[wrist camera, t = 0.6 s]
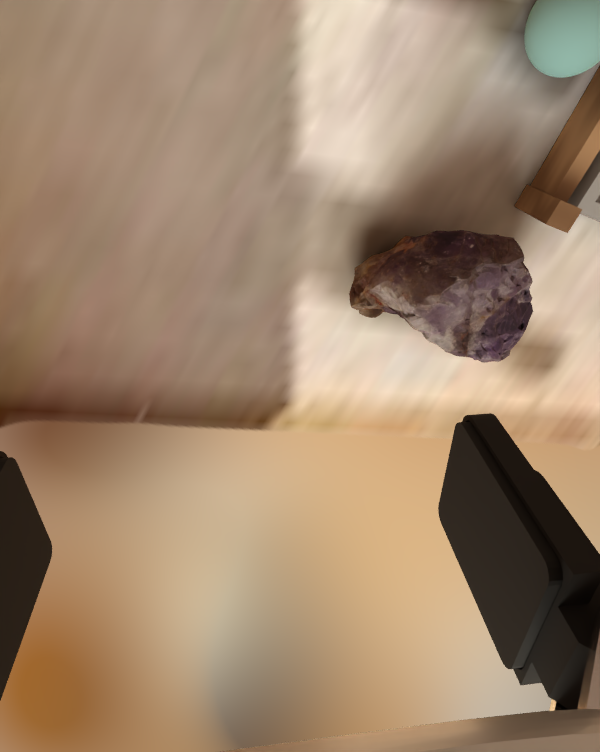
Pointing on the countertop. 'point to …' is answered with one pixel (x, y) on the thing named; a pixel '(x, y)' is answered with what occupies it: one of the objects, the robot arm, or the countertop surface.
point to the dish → (589, 191)
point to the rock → (451, 291)
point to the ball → (563, 36)
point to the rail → (566, 164)
